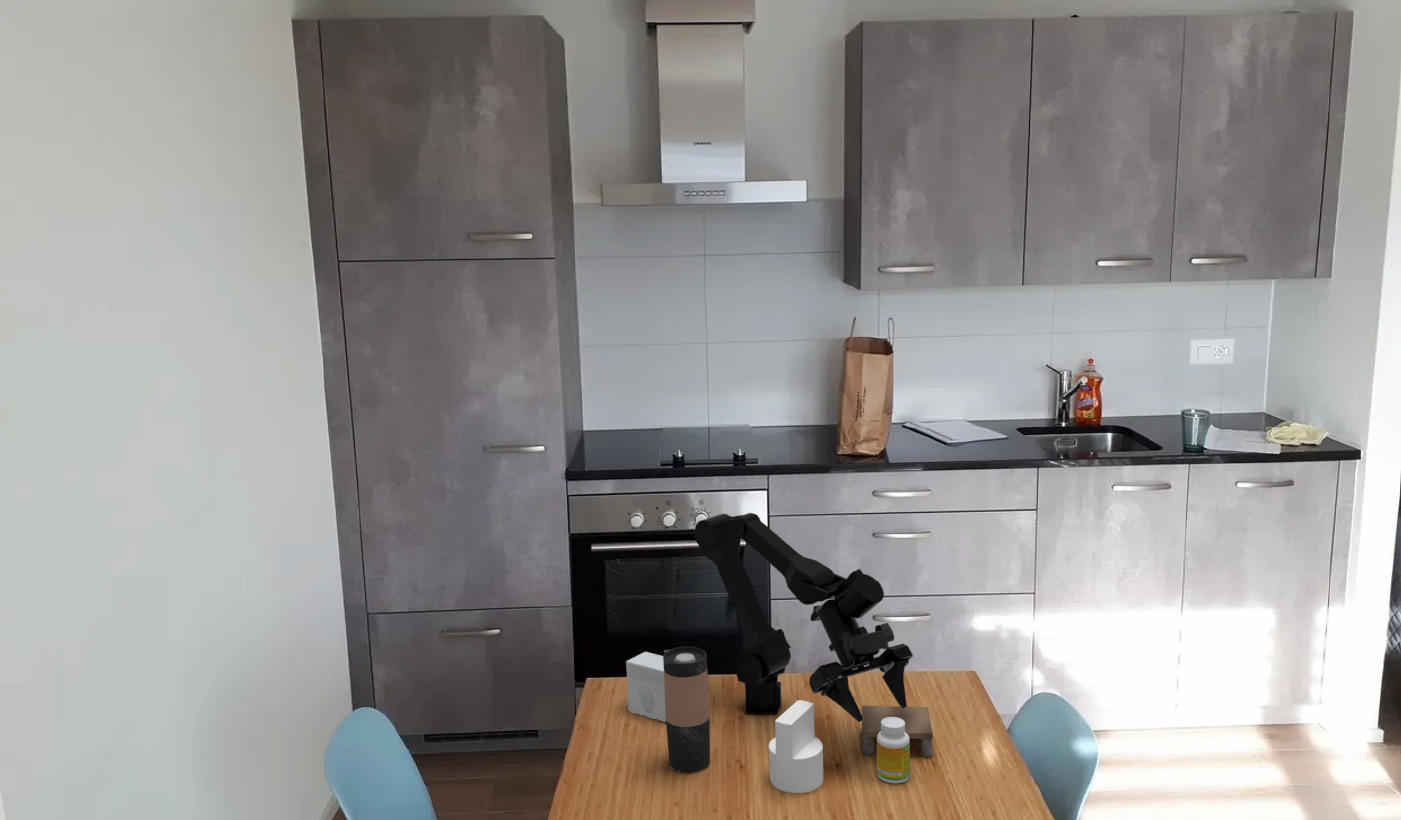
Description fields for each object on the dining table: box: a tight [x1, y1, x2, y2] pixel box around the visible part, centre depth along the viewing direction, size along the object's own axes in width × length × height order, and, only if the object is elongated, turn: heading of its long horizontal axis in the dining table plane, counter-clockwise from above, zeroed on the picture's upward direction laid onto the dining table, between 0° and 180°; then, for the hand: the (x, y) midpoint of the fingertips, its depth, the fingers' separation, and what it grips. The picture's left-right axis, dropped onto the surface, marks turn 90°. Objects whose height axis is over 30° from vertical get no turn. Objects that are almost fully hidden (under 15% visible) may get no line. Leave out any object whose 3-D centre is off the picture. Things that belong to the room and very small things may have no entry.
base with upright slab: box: [768, 699, 824, 794], centre depth 169 cm, size 9×9×12 cm
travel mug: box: [662, 646, 711, 774], centre depth 175 cm, size 8×8×20 cm
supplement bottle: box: [876, 717, 911, 784], centre depth 169 cm, size 5×5×10 cm
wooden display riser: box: [860, 705, 934, 758], centre depth 180 cm, size 12×10×4 cm
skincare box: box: [625, 651, 666, 723], centre depth 196 cm, size 10×6×10 cm, turn 54°
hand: (883, 714), depth 170 cm, fingers open, 9 cm apart
